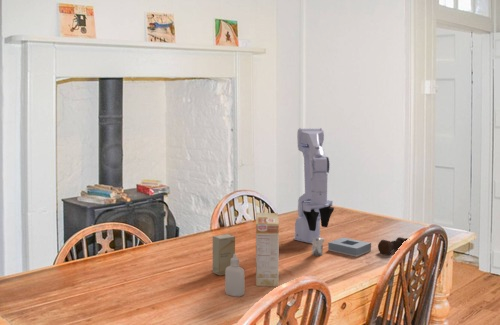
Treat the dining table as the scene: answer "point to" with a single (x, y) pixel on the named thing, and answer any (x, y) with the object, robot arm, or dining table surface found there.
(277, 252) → the coffeecake box
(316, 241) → the pin
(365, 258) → the dining table surface
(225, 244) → the skincare box
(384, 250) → the bolt
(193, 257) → the dining table surface
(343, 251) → the hole block
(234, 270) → the eye dropper bottle
